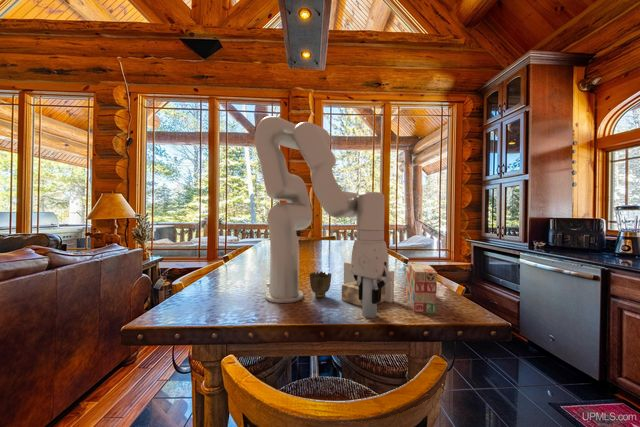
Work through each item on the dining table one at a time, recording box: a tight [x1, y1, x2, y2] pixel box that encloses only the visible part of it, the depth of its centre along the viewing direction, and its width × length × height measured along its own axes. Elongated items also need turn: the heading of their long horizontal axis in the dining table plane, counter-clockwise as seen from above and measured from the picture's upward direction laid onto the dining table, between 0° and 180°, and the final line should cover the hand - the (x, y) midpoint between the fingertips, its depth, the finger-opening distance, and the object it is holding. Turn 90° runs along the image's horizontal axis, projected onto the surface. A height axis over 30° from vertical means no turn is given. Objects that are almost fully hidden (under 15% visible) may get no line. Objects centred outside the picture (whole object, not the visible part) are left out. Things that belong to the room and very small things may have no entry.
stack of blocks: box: [404, 262, 438, 314], centre depth 94 cm, size 21×6×12 cm, turn 171°
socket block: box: [341, 281, 386, 307], centre depth 94 cm, size 10×10×5 cm
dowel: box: [361, 277, 378, 319], centre depth 81 cm, size 4×4×12 cm
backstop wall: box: [343, 261, 395, 303], centre depth 100 cm, size 20×2×10 cm, turn 44°
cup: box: [308, 270, 332, 299], centre depth 97 cm, size 8×7×8 cm
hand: (369, 300), depth 81 cm, fingers closed on dowel, 4 cm apart
